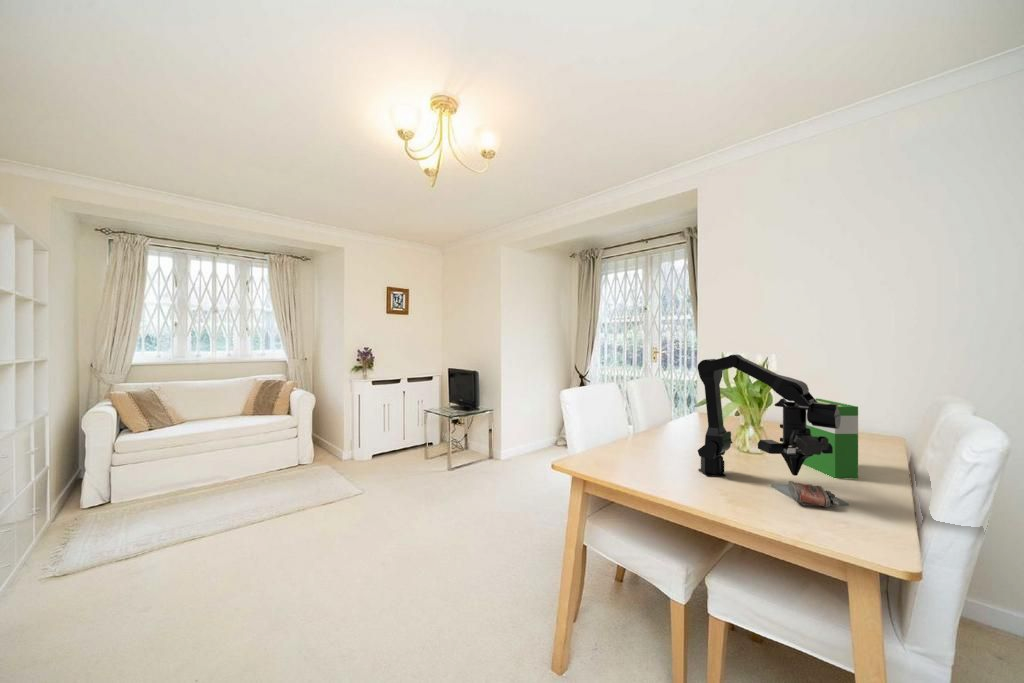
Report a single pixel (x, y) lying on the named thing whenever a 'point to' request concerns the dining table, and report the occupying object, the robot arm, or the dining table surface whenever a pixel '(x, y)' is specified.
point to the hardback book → (838, 444)
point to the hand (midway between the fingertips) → (794, 475)
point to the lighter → (811, 494)
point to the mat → (785, 490)
